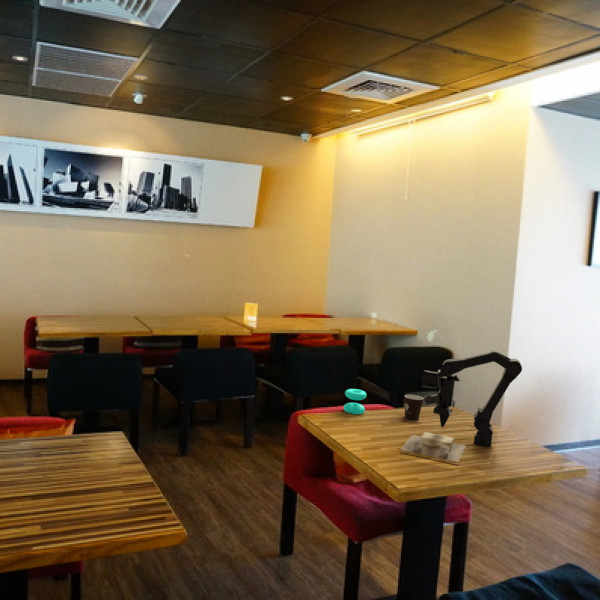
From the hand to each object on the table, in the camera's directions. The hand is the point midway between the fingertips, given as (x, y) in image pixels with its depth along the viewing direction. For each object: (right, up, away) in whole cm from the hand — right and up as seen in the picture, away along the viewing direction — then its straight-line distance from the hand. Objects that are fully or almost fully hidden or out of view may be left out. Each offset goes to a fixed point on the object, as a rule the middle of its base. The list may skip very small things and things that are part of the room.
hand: (442, 426), depth 259 cm
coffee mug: (-7, -2, +32) cm, 33 cm away
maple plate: (-4, -5, -9) cm, 11 cm away
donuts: (-34, 0, +32) cm, 47 cm away
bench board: (-7, -7, -14) cm, 17 cm away
